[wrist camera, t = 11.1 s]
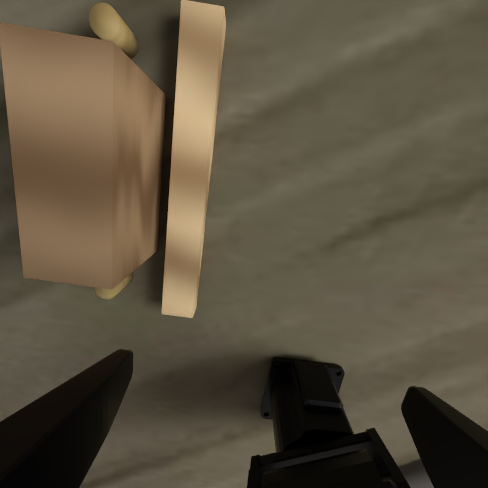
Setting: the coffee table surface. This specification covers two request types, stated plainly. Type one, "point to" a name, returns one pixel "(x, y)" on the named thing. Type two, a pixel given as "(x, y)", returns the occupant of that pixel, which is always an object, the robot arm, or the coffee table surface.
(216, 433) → the coffee table surface
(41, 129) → the thick tan wooden block
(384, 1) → the coffee table surface
